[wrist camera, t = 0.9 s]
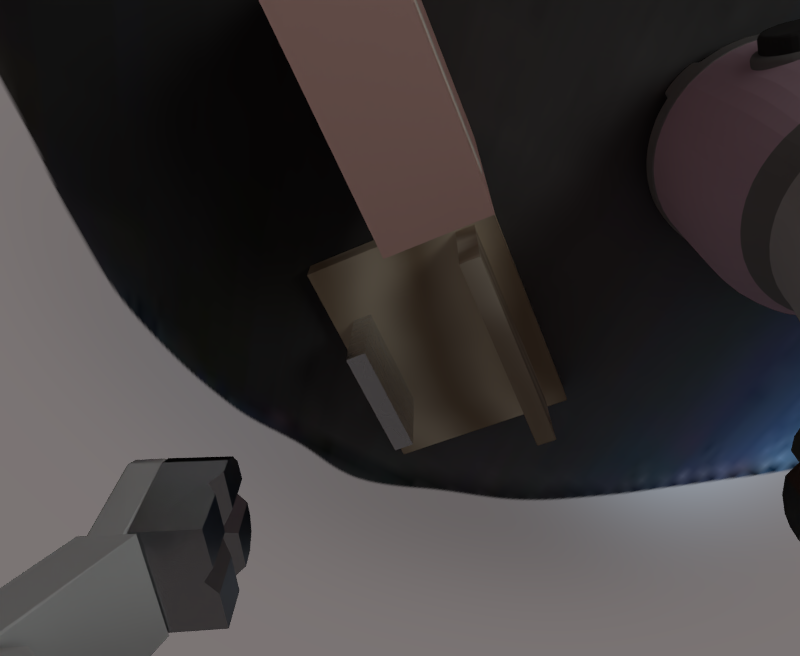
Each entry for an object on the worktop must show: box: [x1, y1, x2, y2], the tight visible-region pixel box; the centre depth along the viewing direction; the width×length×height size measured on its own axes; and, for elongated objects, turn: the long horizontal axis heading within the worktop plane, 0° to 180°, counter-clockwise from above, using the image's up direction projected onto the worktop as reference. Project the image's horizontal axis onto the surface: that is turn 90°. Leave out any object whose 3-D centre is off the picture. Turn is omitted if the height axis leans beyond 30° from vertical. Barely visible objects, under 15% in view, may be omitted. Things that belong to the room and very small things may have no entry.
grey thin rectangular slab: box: [346, 314, 414, 450], centre depth 44 cm, size 1×7×5 cm, turn 24°
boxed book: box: [259, 0, 495, 259], centre depth 33 cm, size 5×12×14 cm, turn 24°
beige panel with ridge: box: [307, 215, 567, 454], centre depth 44 cm, size 12×15×6 cm
